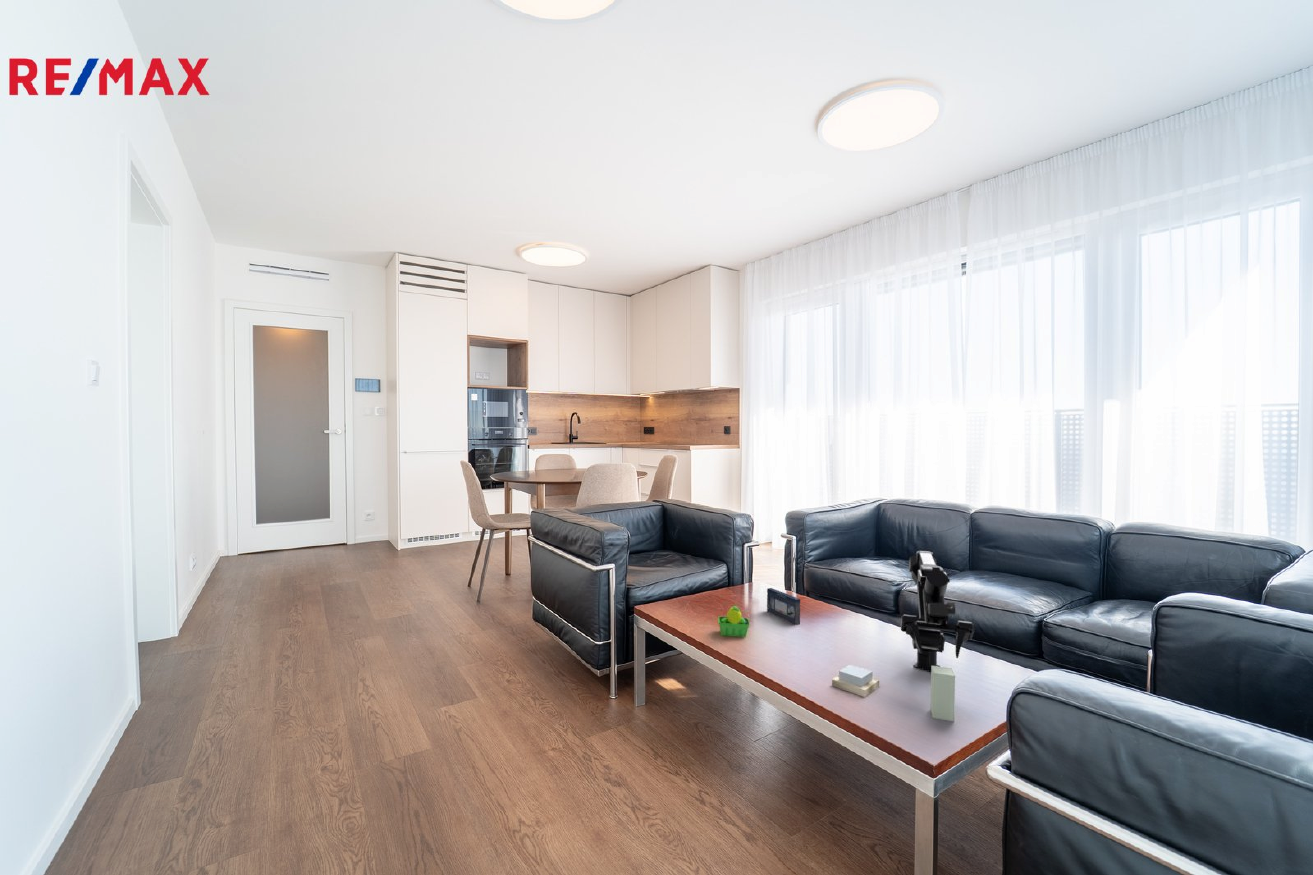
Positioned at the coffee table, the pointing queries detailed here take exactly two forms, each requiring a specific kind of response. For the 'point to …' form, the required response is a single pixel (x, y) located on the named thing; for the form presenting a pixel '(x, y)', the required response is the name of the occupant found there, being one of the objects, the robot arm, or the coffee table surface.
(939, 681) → the column
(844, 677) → the tower top
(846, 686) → the tower base
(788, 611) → the vhs cassette tape
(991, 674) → the coffee table surface
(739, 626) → the fruit basket
